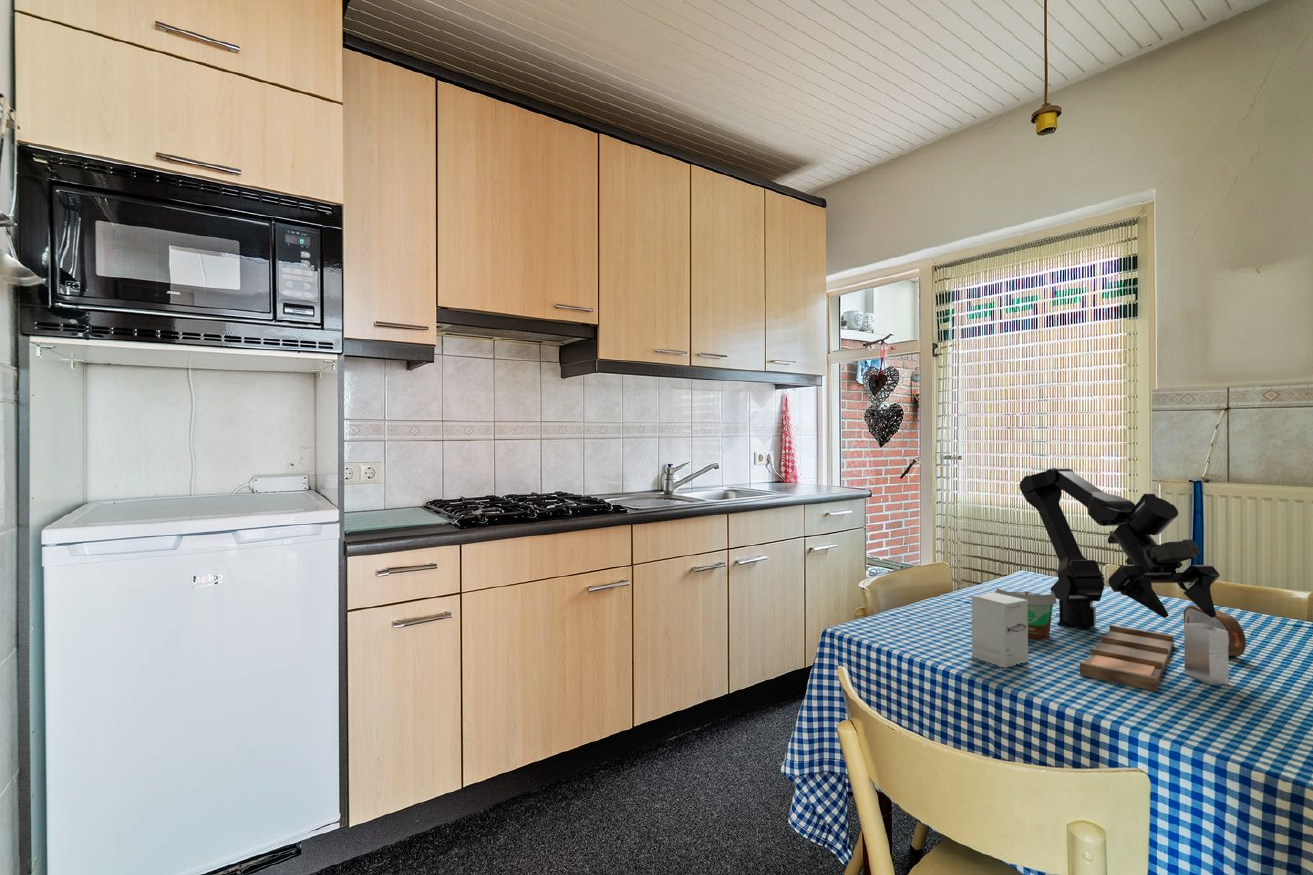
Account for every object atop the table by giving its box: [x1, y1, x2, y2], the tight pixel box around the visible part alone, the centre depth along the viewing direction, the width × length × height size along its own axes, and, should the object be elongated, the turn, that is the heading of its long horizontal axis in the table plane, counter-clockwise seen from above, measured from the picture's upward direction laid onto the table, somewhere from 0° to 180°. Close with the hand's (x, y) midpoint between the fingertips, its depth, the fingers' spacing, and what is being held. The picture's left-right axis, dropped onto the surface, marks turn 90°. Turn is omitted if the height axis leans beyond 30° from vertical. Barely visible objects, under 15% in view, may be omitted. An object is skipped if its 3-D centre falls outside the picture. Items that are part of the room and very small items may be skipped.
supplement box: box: [971, 592, 1029, 669], centre depth 121 cm, size 7×7×13 cm
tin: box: [1183, 604, 1247, 657], centre depth 128 cm, size 15×3×8 cm, turn 168°
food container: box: [994, 587, 1057, 641], centre depth 136 cm, size 12×6×10 cm, turn 68°
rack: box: [1079, 624, 1175, 692], centre depth 121 cm, size 11×34×2 cm, turn 135°
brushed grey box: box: [1183, 622, 1230, 685], centre depth 111 cm, size 5×4×10 cm
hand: (1190, 616), depth 114 cm, fingers open, 9 cm apart
